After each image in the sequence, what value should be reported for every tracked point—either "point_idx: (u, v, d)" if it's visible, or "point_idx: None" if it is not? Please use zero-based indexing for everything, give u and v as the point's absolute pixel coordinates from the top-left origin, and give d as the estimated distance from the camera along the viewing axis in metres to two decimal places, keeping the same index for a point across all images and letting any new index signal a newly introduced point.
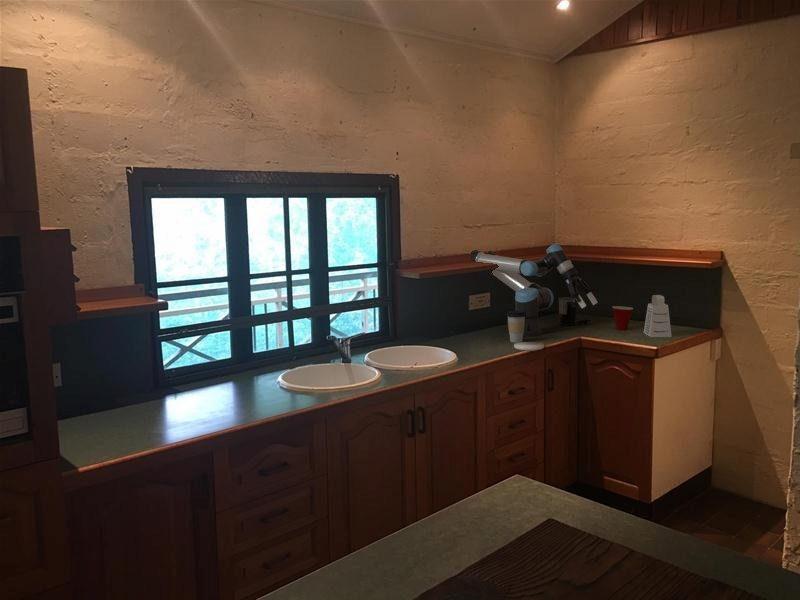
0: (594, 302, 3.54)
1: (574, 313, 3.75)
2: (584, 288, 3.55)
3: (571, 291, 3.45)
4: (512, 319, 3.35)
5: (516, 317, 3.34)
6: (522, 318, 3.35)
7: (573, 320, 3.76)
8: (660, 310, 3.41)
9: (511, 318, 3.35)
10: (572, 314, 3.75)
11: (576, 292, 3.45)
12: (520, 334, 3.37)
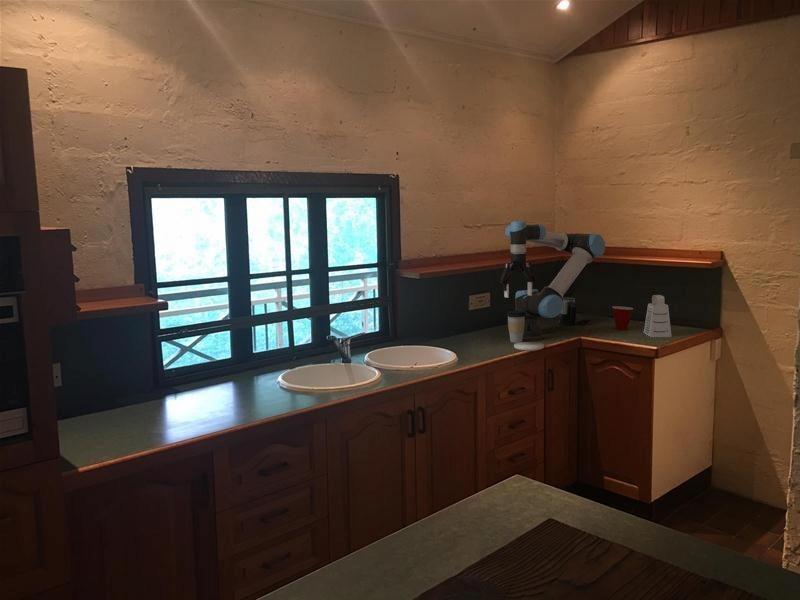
0: (529, 293, 3.39)
1: (574, 313, 3.75)
2: (527, 276, 3.37)
3: (502, 277, 3.31)
4: (512, 319, 3.35)
5: (516, 317, 3.34)
6: (522, 318, 3.35)
7: (573, 320, 3.76)
8: (660, 310, 3.41)
9: (511, 318, 3.35)
10: (572, 314, 3.75)
11: (506, 281, 3.31)
12: (520, 334, 3.37)
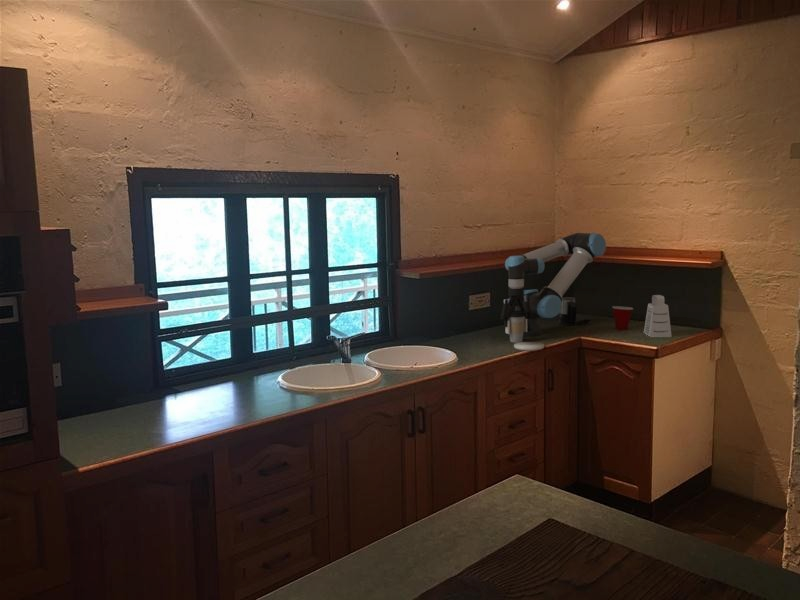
0: (524, 329, 3.41)
1: (574, 313, 3.75)
2: None
3: (502, 314, 3.35)
4: (512, 319, 3.35)
5: (516, 317, 3.34)
6: (522, 318, 3.35)
7: (573, 320, 3.76)
8: (660, 310, 3.41)
9: (511, 318, 3.35)
10: (572, 314, 3.75)
11: (506, 317, 3.35)
12: (520, 334, 3.37)
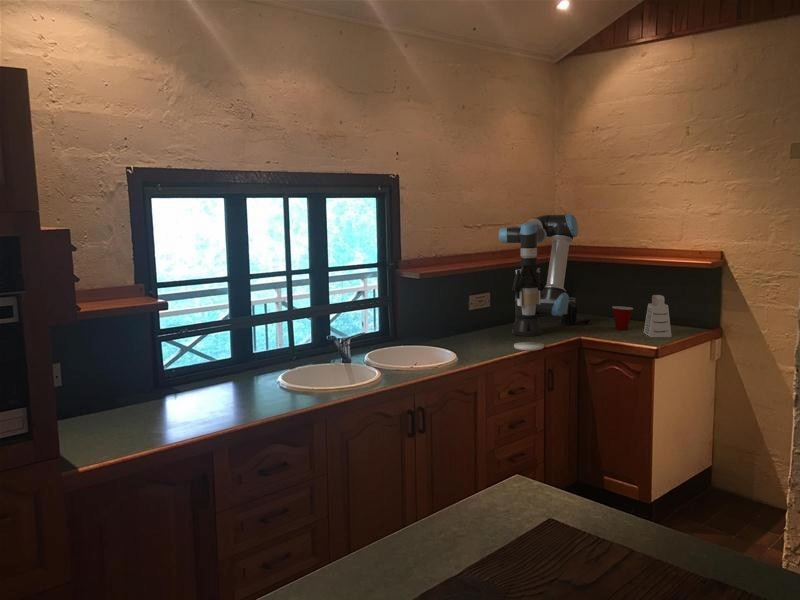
0: (537, 302, 3.24)
1: (575, 313, 3.75)
2: None
3: (514, 285, 3.19)
4: (524, 290, 3.19)
5: (529, 288, 3.17)
6: (535, 289, 3.19)
7: (574, 320, 3.76)
8: (660, 310, 3.41)
9: (523, 289, 3.19)
10: (573, 314, 3.75)
11: (518, 288, 3.18)
12: (533, 306, 3.20)
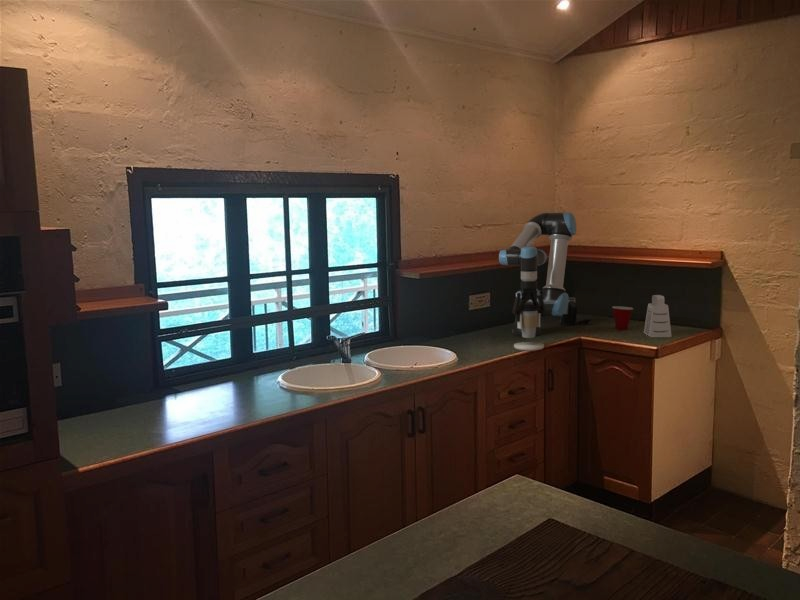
0: (537, 324, 3.26)
1: (575, 313, 3.75)
2: None
3: (514, 308, 3.20)
4: (524, 313, 3.20)
5: (529, 311, 3.19)
6: (535, 312, 3.20)
7: (574, 320, 3.76)
8: (660, 310, 3.41)
9: (523, 312, 3.20)
10: (573, 314, 3.75)
11: (518, 311, 3.20)
12: (533, 329, 3.21)
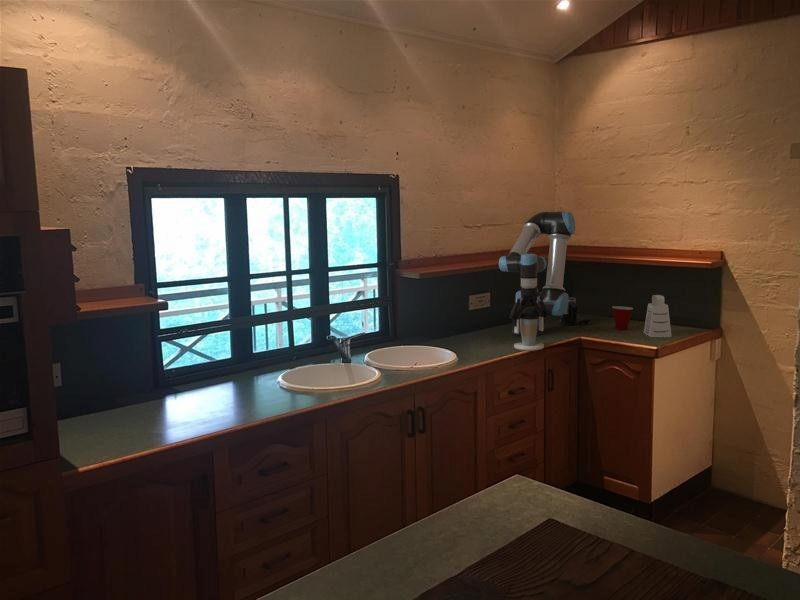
0: (540, 328, 3.27)
1: (575, 313, 3.75)
2: (538, 311, 3.25)
3: (511, 312, 3.20)
4: (525, 321, 3.21)
5: (529, 319, 3.20)
6: (535, 320, 3.21)
7: (574, 320, 3.76)
8: (660, 310, 3.41)
9: (524, 320, 3.21)
10: (573, 314, 3.75)
11: (516, 316, 3.19)
12: (533, 337, 3.22)
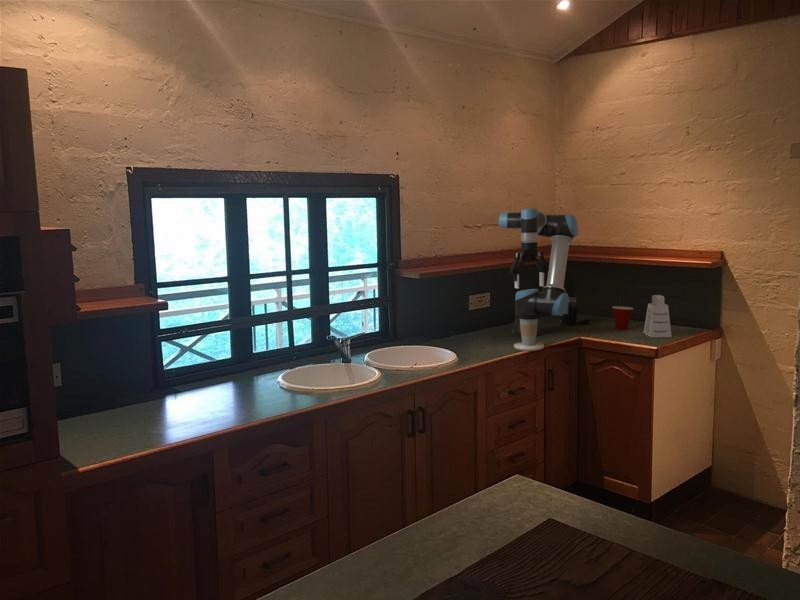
0: (541, 284, 3.24)
1: (575, 313, 3.75)
2: (538, 266, 3.22)
3: (512, 267, 3.17)
4: (524, 321, 3.21)
5: (529, 319, 3.19)
6: (535, 320, 3.21)
7: (574, 320, 3.76)
8: (660, 310, 3.41)
9: (523, 320, 3.21)
10: (573, 314, 3.75)
11: (516, 271, 3.17)
12: (533, 337, 3.22)
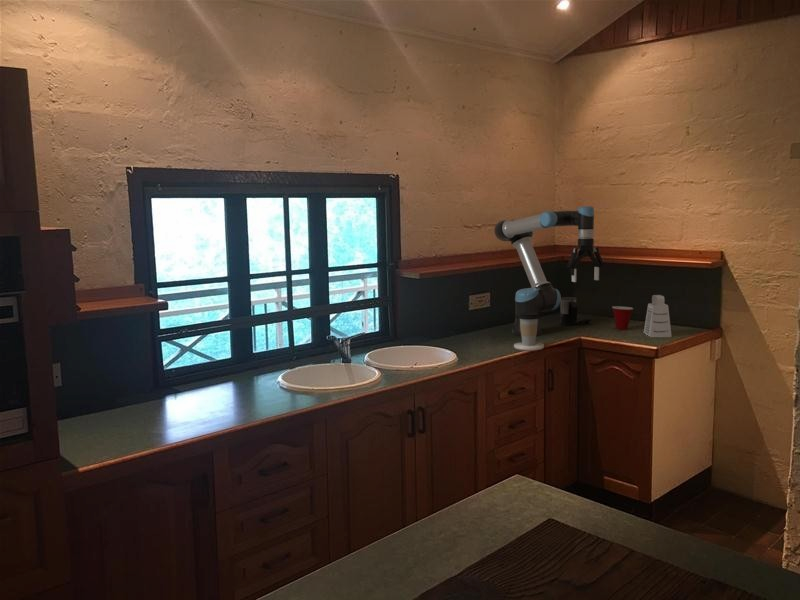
0: (596, 278, 3.43)
1: (575, 313, 3.75)
2: (594, 261, 3.41)
3: (569, 262, 3.36)
4: (525, 321, 3.21)
5: (529, 319, 3.19)
6: (535, 320, 3.21)
7: (574, 320, 3.76)
8: (660, 310, 3.41)
9: (523, 320, 3.21)
10: (573, 314, 3.75)
11: (574, 265, 3.35)
12: (533, 337, 3.22)
